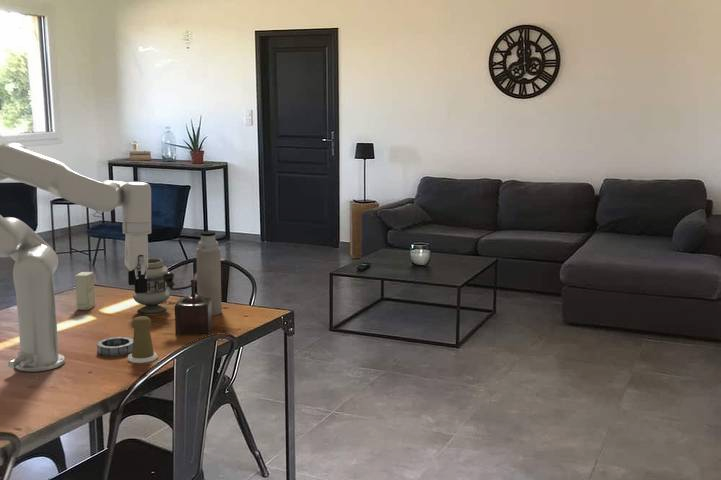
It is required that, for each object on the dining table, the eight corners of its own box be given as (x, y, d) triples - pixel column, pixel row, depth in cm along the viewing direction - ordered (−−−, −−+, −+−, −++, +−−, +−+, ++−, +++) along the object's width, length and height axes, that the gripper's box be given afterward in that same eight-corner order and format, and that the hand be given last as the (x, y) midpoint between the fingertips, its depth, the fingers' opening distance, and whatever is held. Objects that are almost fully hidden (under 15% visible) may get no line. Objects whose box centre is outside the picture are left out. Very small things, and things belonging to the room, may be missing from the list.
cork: (136, 359, 209) (135, 321, 207) (128, 354, 213) (126, 316, 211) (157, 355, 212) (156, 317, 210) (148, 349, 217) (147, 313, 215)
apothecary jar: (126, 313, 256) (123, 261, 253) (148, 305, 267) (147, 255, 264) (155, 318, 252) (153, 265, 248) (177, 309, 262) (175, 258, 259)
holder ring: (120, 357, 212) (119, 349, 212) (90, 353, 215) (90, 345, 215) (140, 347, 222) (140, 339, 221) (112, 343, 225) (112, 335, 224)
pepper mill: (213, 324, 245) (212, 270, 242) (208, 335, 234) (207, 278, 231) (165, 324, 244) (163, 270, 241) (157, 335, 234) (155, 278, 230)
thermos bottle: (209, 308, 264) (207, 229, 259) (226, 311, 260) (224, 231, 255) (193, 313, 258) (190, 232, 253) (210, 317, 254) (208, 235, 249)
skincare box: (89, 310, 260) (87, 275, 258) (76, 309, 260) (74, 275, 258) (95, 305, 266) (94, 271, 264) (83, 305, 266) (81, 271, 264)
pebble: (146, 364, 207) (146, 361, 207) (121, 361, 210) (121, 358, 210) (162, 355, 215) (162, 353, 215) (138, 352, 217) (138, 349, 217)
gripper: (117, 223, 211) (118, 282, 214) (128, 233, 196) (129, 297, 199) (144, 222, 215) (145, 280, 218) (157, 232, 200) (157, 295, 203)
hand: (137, 288), depth 209 cm, fingers open, 9 cm apart
